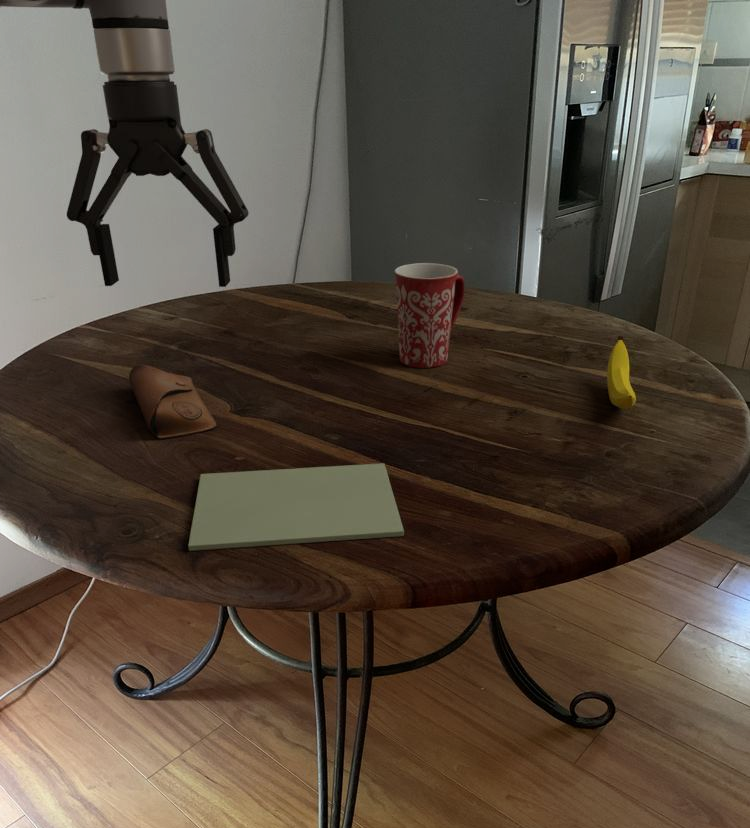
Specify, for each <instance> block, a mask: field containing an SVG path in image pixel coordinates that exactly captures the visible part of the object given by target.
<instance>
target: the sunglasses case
mask: <svg viewBox="0 0 750 828" xmlns="http://www.w3.org/2000/svg"><path fill="white" fill-rule="evenodd" d="M128 381H129V384H130V388H131V390H132V391H133V394H134V397H135V399H136V401H137V403H138V406H139V409H140V411H141V414H142V416H143V418H144V421H145V424H146V426H147V428H148V430H149V432H150V433H151V434H153V435H154V436H155V437H156V438H158V439H159V440H160V439H163V440H165V439H170V438H180V437H184V436H185V437H186V436H191V435H195V434H199V433H202V432H207V431H210V430H213V429H215V428H216V427H217V423H216V420H215V418H214V416H213V415H212V414H211V412H210V410H209V409H208V407H207V406H206V404H205V403H204V401H203V399H202V398H201V396H200V394H199V392H198V391H197V389H196V387H195V385H194V383H193V380H192V378H191V377H189V376H186V375H181V374H174V373H171V372H167V371H165V370H162V369H159V368H157V367H154V366H151V365H147V364H136V365H133V367H132V368H131V370H130V372H129V374H128Z"/></svg>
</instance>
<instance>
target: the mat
mask: <svg viewBox="0 0 750 828" xmlns="http://www.w3.org/2000/svg"><path fill="white" fill-rule="evenodd" d="M198 481H199V482H198V488H197V493H196V498H195V505H194V511H193V516H192V521H191V528H190V533H189V538H188V540H189V541H188V545H187V548H188V551H189V552H193V551H194V552H195V551H206V550H222V549H224V550H225V549H237V548H251V547H253V548H254V547H266V546H282V545H295V544H307V543H308V544H310V543H323V542H324V543H325V542H337V541H338V542H339V541H352V540H353V541H354V540H366V539H367V540H368V539H381V538H395V537H404V536H405V530H404V527H403V526H404V525H403V523H402V520H401V519H402V518H401V516H400V513H399V509H398V505H397V503H396V498H395V495H394V491H393V489H392V485H391V482H390V477H389V475H388V471H387V467H386V464H385V462H384V463H383V462H382V463H381V462H380V463H367V464H366V463H365V464H352V465H351V464H349V465H334V466H333V465H332V466H331V465H329V466H315V467H296V468H281V469H266V470H265V469H264V470H247V471H246V470H245V471H230V472H213V473H211V472H210V473H201V474H200V476H199V480H198Z"/></svg>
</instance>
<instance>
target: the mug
mask: <svg viewBox="0 0 750 828" xmlns="http://www.w3.org/2000/svg"><path fill="white" fill-rule="evenodd" d="M393 272H394V276H395V287H396V289H395V290H396V307H397V328H398V349H399V350H398V351H399V360H400V362H401V363H402V364H404V365H405V366H408V367H412V368H419V369H429V368H436V367H440V366H443V365H445V363H447V361H448V357H449V348H450V339H451V338H450V337H451V332H452V329H454V328H453V327H454V326H455V323H456V321H457V319H458V316H459V314H460V312H461V309H462V306H463V303H464V299H465V293H466V291H465V290H466V284H465V279H464V278H463V276H461V275H459V274H458V273H459V271H458V269H457V268H456V267H454V266H451V265H447V264H443V263H434V262H433V263H432V262H419V263H418V262H417V263H409V264H404V265H401V266H398V267H396V268H395V269H394V271H393Z"/></svg>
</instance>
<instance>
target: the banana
mask: <svg viewBox="0 0 750 828" xmlns="http://www.w3.org/2000/svg"><path fill="white" fill-rule="evenodd" d="M624 339H625V337H624V336H623V335H618V336H617V342H616V344H615V345H614V346H613V348H612V350H611V351H610V354H609V355H610V356H609V359H608V364H607V374H606V375H607V376H606V380H607V392H608V397H609V400H610V403H611V404H612V405H613V406H615V407H617V408H618V409H621V410H626V409H631V408H633V406H634V405H635V404H636V401H637V398H636V397H637V396H636V393H635V391H634V390H633V387H632V385H631V382H630V358H629V353H628V349H627V347H626V345H625V342H624V341H623V340H624Z"/></svg>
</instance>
